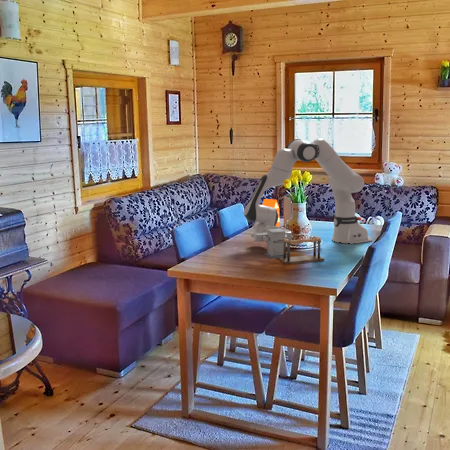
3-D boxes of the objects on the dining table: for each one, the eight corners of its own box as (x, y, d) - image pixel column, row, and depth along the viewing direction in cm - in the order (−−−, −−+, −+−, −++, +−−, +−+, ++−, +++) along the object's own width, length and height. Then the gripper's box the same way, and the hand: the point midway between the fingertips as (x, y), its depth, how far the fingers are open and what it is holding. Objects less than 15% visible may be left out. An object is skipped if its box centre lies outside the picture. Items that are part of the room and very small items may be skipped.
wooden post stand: (315, 255, 278) (315, 235, 276) (320, 258, 272) (320, 238, 270) (283, 258, 273) (283, 238, 272) (287, 261, 268) (287, 241, 266)
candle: (304, 227, 354) (304, 196, 350) (283, 226, 357) (283, 196, 353) (305, 225, 361) (305, 194, 357) (284, 224, 364) (284, 194, 360)
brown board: (317, 256, 279) (317, 254, 279) (324, 260, 271) (324, 258, 271) (279, 260, 274) (279, 257, 274) (286, 264, 266) (286, 262, 266)
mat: (282, 252, 290) (282, 251, 290) (289, 257, 280) (289, 255, 280) (264, 254, 287) (264, 252, 287) (271, 258, 278) (271, 257, 278)
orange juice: (266, 229, 350) (266, 198, 346) (279, 230, 345) (279, 198, 341) (261, 231, 343) (261, 199, 339) (274, 232, 339) (274, 200, 335)
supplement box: (272, 256, 279) (271, 232, 277) (267, 253, 286) (266, 229, 284) (285, 255, 281) (285, 230, 279) (280, 252, 288) (280, 228, 286)
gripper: (249, 229, 291) (258, 234, 278) (285, 226, 296) (295, 231, 283) (249, 240, 292) (258, 246, 279) (285, 237, 297) (295, 243, 284)
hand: (277, 238), depth 281 cm, fingers open, 8 cm apart
